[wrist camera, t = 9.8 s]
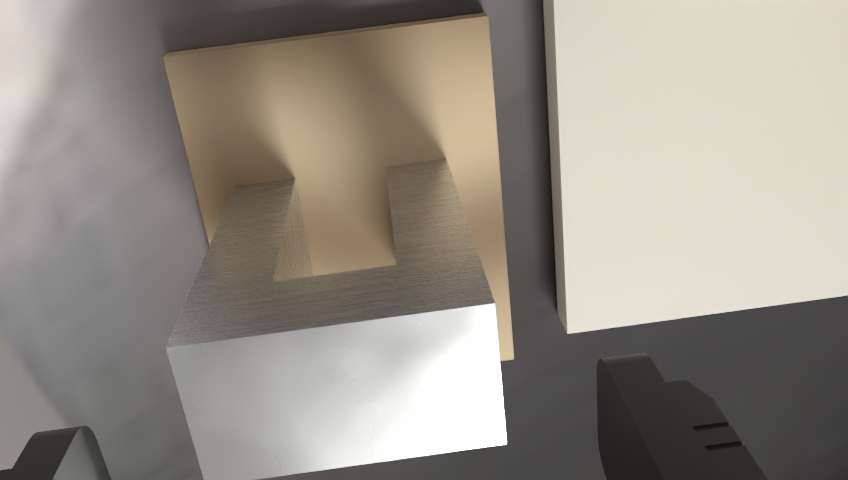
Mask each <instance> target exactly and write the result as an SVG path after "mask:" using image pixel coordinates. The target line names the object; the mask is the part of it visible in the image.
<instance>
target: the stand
mask: <svg viewBox="0 0 848 480" xmlns="http://www.w3.org/2000/svg"><path fill="white" fill-rule="evenodd" d="M543 11H544V32H545V54H546V75H547V97H548V118H549V139H550V161H551V182H552V204H553V225H554V247H555V268H556V289H557V311H558V315H559V317H560V319H561V322H562V324H563V326H564V328H565V330H566V332H567V334H570V333H578V332H585V331H592V330H599V329H607V328H614V327H621V326H628V325H636V324H643V323H650V322H658V321H665V320H672V319H679V318H687V317H694V316H701V315H708V314H716V313H723V312H730V311H738V310H745V309H752V308H759V307H767V306H774V305H781V304H788V303H796V302H803V301H810V300H818V299H825V298H832V297H839V296H847V295H848V0H543Z"/></svg>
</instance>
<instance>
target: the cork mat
mask: <svg viewBox="0 0 848 480" xmlns="http://www.w3.org/2000/svg"><path fill="white" fill-rule="evenodd" d="M163 60H164V64H165V69H166V73H167V77H168V81H169V85H170V89H171V93H172V97H173V101H174V105H175V109H176V113H177V117H178V121H179V125H180V129H181V133H182V137H183V141H184V145H185V149H186V153H187V157H188V161H189V165H190V169H191V174H192V178H193V182H194V186H195V190H196V194H197V198H198V202H199V206H200V210H201V214H202V218H203V222H204V226H205V230H206V234H207V238H208V242H209V245H210V243H211V240H212V238H213V236H214V233H215V231H216V229H217V226H218V224H219V222H220V219H221V217H222V215H223V212H224V210H225V207H226V205H227V203H228V200H229V198H230V196H231V193H232V191H233V189H234V186H239V185H247V184H255V183H262V182H270V181H277V180H285V179H293V178H295V179H296V184H297V189H298V195H299V200H300V205H301V210H302V216H303V221H304V226H305V232H306V237H307V242H308V247H309V253H310V258H311V263H312V268H313V274H314V276H317V275H325V274H332V273H340V272H347V271H355V270H362V269H369V268H377V267H384V266H392V265H396V256H395V246H394V237H393V227H392V217H391V208H390V198H389V189H388V179H387V169H386V166H392V165H400V164H407V163H415V162H422V161H430V160H438V159H445V158H446V159H447V162H448V165H449V168H450V171H451V173H452V176H453V179H454V182H455V185H456V188H457V191H458V194H459V197H460V200H461V203H462V206H463V209H464V212H465V215H466V218H467V221H468V224H469V227H470V230H471V233H472V236H473V239H474V242H475V245H476V248H477V251H478V254H479V257H480V260H481V263H482V266H483V269H484V272H485V275H486V278H487V281H488V284H489V287H490V289H491V292H492V295H493V298H494V301H495V308H496V320H497V332H498V344H499V356H500V361H504V360H511V359H514V352H513V339H512V325H511V312H510V299H509V285H508V272H507V259H506V245H505V232H504V219H503V206H502V192H501V179H500V166H499V152H498V139H497V126H496V113H495V99H494V86H493V73H492V59H491V46H490V33H489V19H488V15H487V14H486V13H477V14H469V15H461V16H453V17H445V18H438V19H430V20H422V21H414V22H406V23H398V24H390V25H382V26H374V27H366V28H359V29H351V30H343V31H335V32H327V33H319V34H311V35H303V36H295V37H287V38H280V39H272V40H264V41H256V42H248V43H240V44H232V45H224V46H216V47H208V48H201V49H193V50H185V51H177V52H169V53H167V54H166V55H165V56H163Z"/></svg>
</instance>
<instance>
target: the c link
mask: <svg viewBox="0 0 848 480" xmlns="http://www.w3.org/2000/svg"><path fill="white" fill-rule="evenodd" d="M386 169H387V179H388V189H389V198H390V208H391V217H392V227H393V237H394V246H395V256H396V265H392V266H384V267H377V268H369V269H362V270H355V271H347V272H340V273H332V274H325V275H317V276H314V274H313V268H312V263H311V258H310V253H309V247H308V242H307V237H306V232H305V226H304V221H303V216H302V210H301V205H300V200H299V195H298V189H297V184H296V179H295V178H293V179H285V180H277V181H270V182H262V183H255V184H247V185H239V186H234V189H233V191H232V193H231V196H230V198H229V200H228V203H227V205H226V207H225V210H224V212H223V215H222V217H221V219H220V222H219V224H218V226H217V229H216V231H215V233H214V236H213V238H212V240H211V243H210V245H209V248H208V250H207V252H206V255H205V257H204V259H203V262H202V264H201V266H200V269H199V271H198V273H197V276H196V278H195V281H194V283H193V285H192V288H191V290H190V292H189V295H188V297H187V299H186V302H185V304H184V306H183V309H182V311H181V314H180V316H179V318H178V321H177V323H176V325H175V328H174V330H173V332H172V335H171V337H170V339H169V342H168V344H167V347H166V350H167V353H168V357H169V360H170V364H171V367H172V371H173V374H174V378H175V381H176V385H177V388H178V391H179V395H180V398H181V402H182V405H183V409H184V412H185V416H186V419H187V422H188V426H189V429H190V433H191V436H192V440H193V443H194V447H195V450H196V454H197V457H198V460H199V464H200V467H201V471H202V474H203V478H204V480H255V479H262V478H269V477H277V476H284V475H291V474H298V473H305V472H312V471H319V470H326V469H333V468H341V467H348V466H355V465H362V464H369V463H376V462H383V461H390V460H397V459H404V458H412V457H419V456H426V455H433V454H440V453H447V452H454V451H461V450H468V449H476V448H483V447H490V446H497V445H504V444H507V439H506V427H505V415H504V403H503V391H502V379H501V367H500V356H499V344H498V332H497V320H496V308H495V301H494V298H493V295H492V292H491V289H490V287H489V284H488V281H487V278H486V275H485V272H484V269H483V266H482V263H481V260H480V257H479V254H478V251H477V248H476V245H475V242H474V239H473V236H472V233H471V230H470V227H469V224H468V221H467V218H466V215H465V212H464V209H463V206H462V203H461V200H460V197H459V194H458V191H457V188H456V185H455V182H454V179H453V176H452V173H451V171H450V168H449V165H448V162H447V159H446V158H445V159H438V160H430V161H422V162H415V163H407V164H400V165H392V166H386Z"/></svg>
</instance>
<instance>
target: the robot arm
mask: <svg viewBox="0 0 848 480" xmlns="http://www.w3.org/2000/svg"><path fill="white" fill-rule="evenodd" d="M597 415H598V444H599V451H600V456H601V461H602V465H603V469H604V472H605V475H606V478H607V480H768V479H767V478H766V476H765V475H764V474H763V472H762V471H761V469H760V468H759V466H758V465H757V463H756V462H755V460H754V459H753V457H752V456H751V454H750V453H749V451H748V450H747V448H746V447H745V446H742V443H741V440H740V438H739V437H738V435H737V434H736V432H735V431H734V429H733V428H732V426H730V427H729V424H728V420H727V419H726V417H725V416H724V415H723V413H722V412H721V410H720V409H719V407H718V406H717V404H716V403H715V401H714V400H713V398H711V397H710V396H708V395H707V394H705V393H704V392H703V391H701V390H700V389H698V388H697V387H695V386H694V385H692V384H691V383H689V382H688V381H686V380H682V381H674V382H667V383H666V382H665V381H664V379H663V377H662V376H661V374H660V372H659V371H658V369H657V367H656V366H655V364H654V363H653V361H652V359H651V358H650V356H649V355H648V354H647V353H640V354H632V355H625V356H617V357H610V358H602V359H599V360H598V364H597ZM0 480H111V478H110V475H109V473H108V470H107V467H106V464H105V462H104V459H103V456H102V453H101V451H100V448H99V445H98V442H97V439H96V437H95V435H94V433H93V431H92V430H91V429H90V428H89V427H87V426H81V427H74V428H66V429H59V430H51V431H44V432H37V433H35V434H34V435H33V436H32V437H31V438H30V440H29V441H28V443H27V444H26V446H25V448H24V449H23V451H22V453H21V455H20V456H19V458H18V460H17V461H16V463H15V465H14V466H13V468H12V469H7V470H1V471H0Z"/></svg>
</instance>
